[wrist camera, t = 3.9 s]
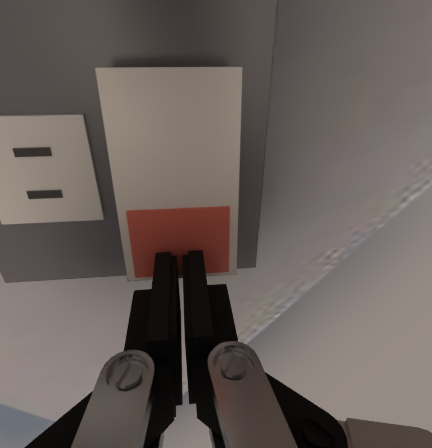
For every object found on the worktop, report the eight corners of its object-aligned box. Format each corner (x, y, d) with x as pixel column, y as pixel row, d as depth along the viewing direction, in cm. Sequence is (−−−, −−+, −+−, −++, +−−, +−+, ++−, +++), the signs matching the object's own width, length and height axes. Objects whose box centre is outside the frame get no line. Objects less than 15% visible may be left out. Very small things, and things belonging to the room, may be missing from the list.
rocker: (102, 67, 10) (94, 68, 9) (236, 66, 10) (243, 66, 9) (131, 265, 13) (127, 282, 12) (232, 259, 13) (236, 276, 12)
